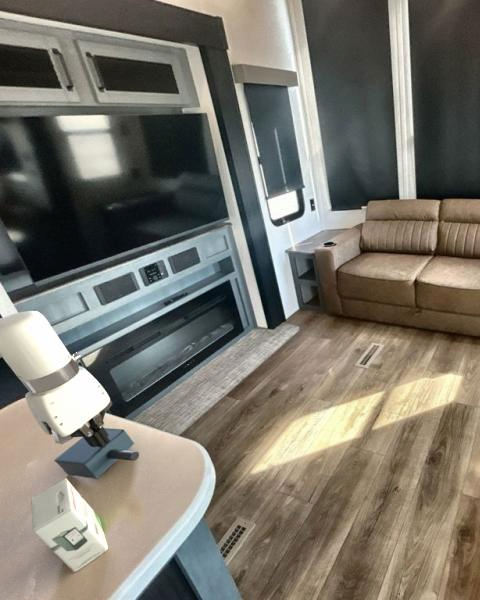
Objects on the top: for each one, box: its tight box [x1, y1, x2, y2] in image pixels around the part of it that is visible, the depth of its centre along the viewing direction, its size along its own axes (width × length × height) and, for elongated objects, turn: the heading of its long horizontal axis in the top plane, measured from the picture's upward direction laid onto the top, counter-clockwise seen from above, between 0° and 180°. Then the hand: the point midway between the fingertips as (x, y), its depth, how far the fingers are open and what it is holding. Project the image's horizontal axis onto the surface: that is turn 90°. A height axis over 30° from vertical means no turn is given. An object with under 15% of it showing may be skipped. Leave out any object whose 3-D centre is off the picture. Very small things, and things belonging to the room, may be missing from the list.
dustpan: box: [54, 427, 140, 480], centre depth 77 cm, size 16×9×4 cm, turn 74°
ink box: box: [30, 477, 109, 573], centre depth 60 cm, size 9×5×12 cm, turn 45°
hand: (101, 443), depth 76 cm, fingers closed
